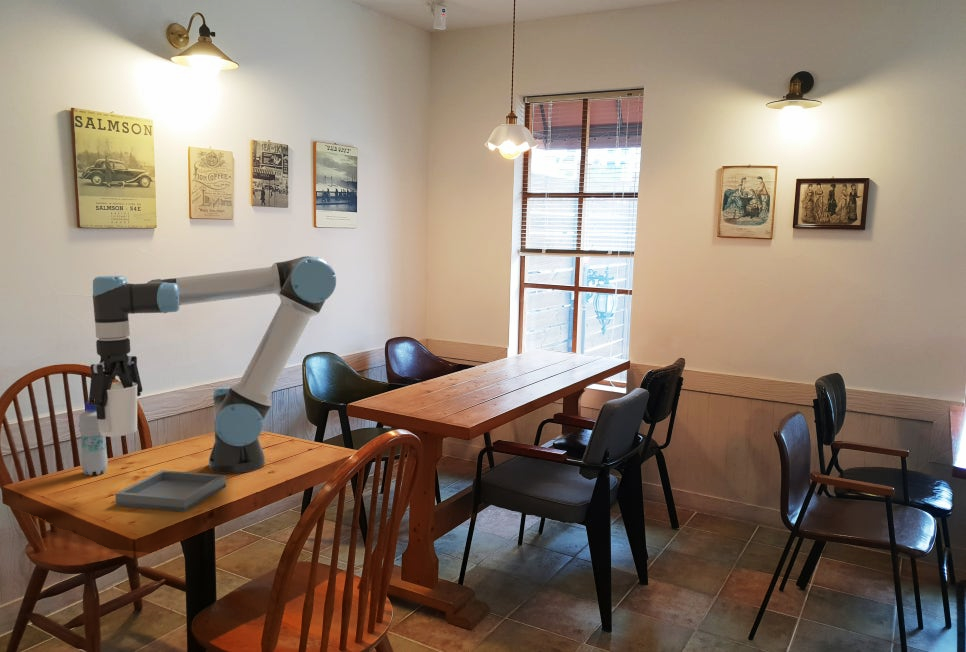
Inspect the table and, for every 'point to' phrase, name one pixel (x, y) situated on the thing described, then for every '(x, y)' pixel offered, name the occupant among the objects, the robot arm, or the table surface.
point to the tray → (171, 490)
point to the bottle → (92, 442)
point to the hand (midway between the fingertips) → (118, 426)
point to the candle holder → (122, 410)
